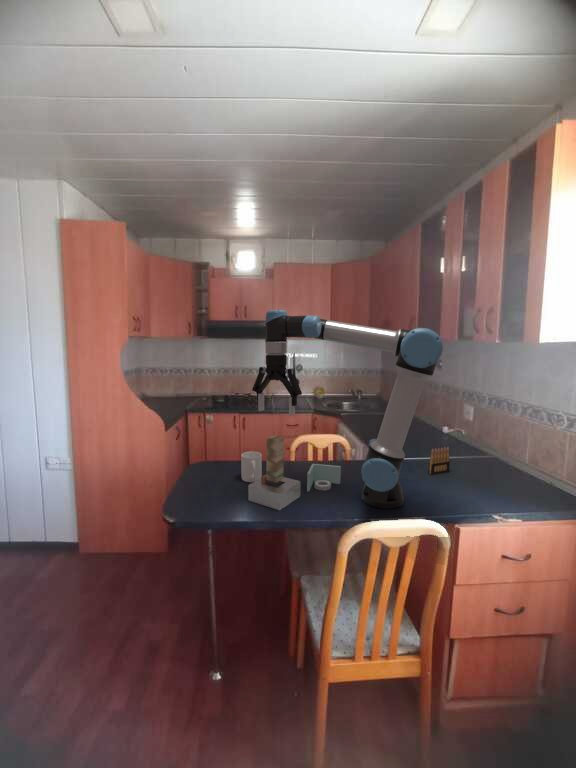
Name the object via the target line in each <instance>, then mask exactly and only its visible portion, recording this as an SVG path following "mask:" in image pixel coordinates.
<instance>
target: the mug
mask: <svg viewBox="0 0 576 768" xmlns="http://www.w3.org/2000/svg"><path fill="white" fill-rule="evenodd" d="M240 457H241V459H240V462H241V466H240V468H241V475H240V476H241V480H242V481H243V482H246V483H253V482H255V481H257V480H259V479H261V476H263V474H262V473H263V472H262V469H263V468H262V463H263V461H262V460H263V459H262V453H261V452H260V451H245V452H243V453H241V456H240Z"/></svg>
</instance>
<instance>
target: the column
mask: <svg viewBox="0 0 576 768" xmlns="http://www.w3.org/2000/svg"><path fill="white" fill-rule="evenodd" d="M284 440H285V439H284V436H278V435H271V436H269V437H266V469H265V470H266V471H265V474H266V480H268V481H272V482H276V483H277V482H278V481H280V480H282V479H283V477H284V475H285V473H284V452H285V451H284V444H285V442H284Z"/></svg>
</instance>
